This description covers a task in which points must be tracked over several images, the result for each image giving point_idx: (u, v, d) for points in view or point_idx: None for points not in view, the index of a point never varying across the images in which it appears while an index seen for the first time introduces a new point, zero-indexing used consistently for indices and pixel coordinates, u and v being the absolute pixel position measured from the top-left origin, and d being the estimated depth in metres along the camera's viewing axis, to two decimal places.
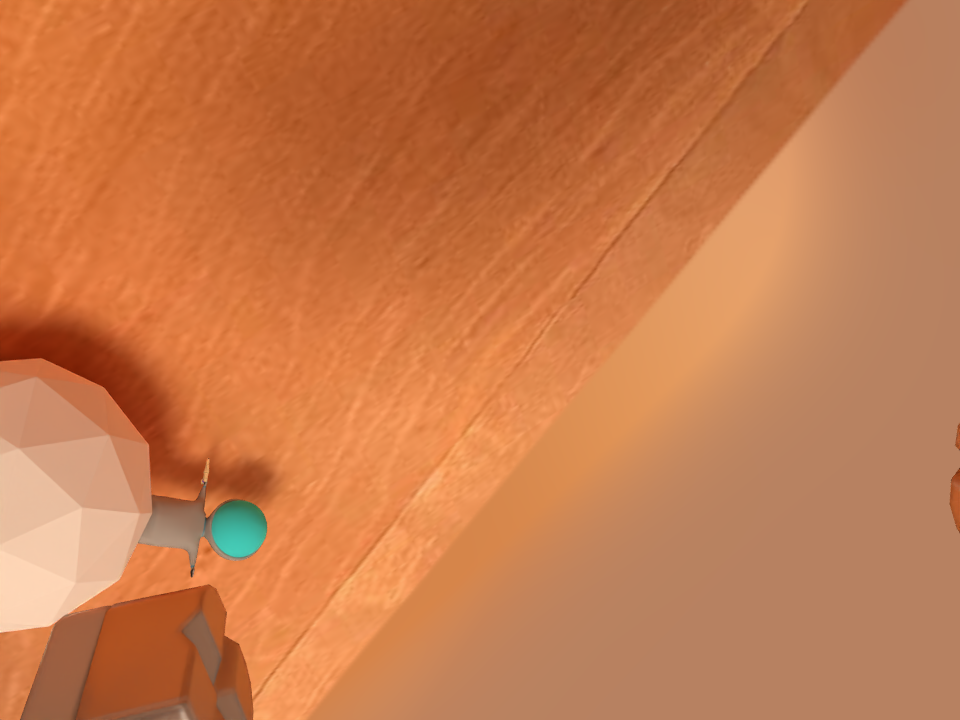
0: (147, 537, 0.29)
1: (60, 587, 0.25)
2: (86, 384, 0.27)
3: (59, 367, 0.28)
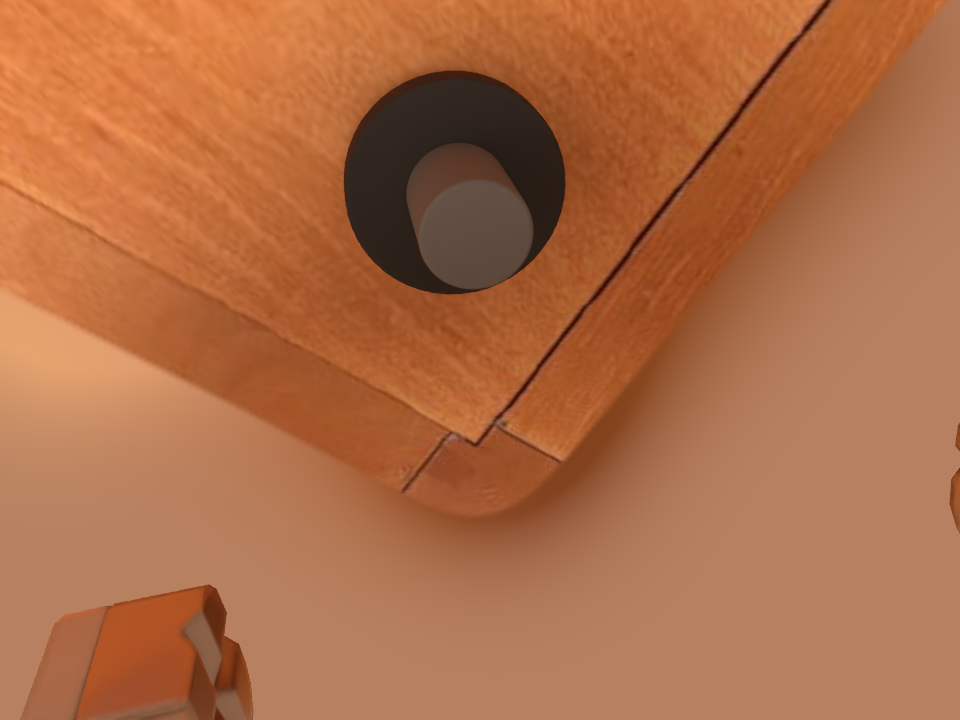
0: None
1: None
2: None
3: None
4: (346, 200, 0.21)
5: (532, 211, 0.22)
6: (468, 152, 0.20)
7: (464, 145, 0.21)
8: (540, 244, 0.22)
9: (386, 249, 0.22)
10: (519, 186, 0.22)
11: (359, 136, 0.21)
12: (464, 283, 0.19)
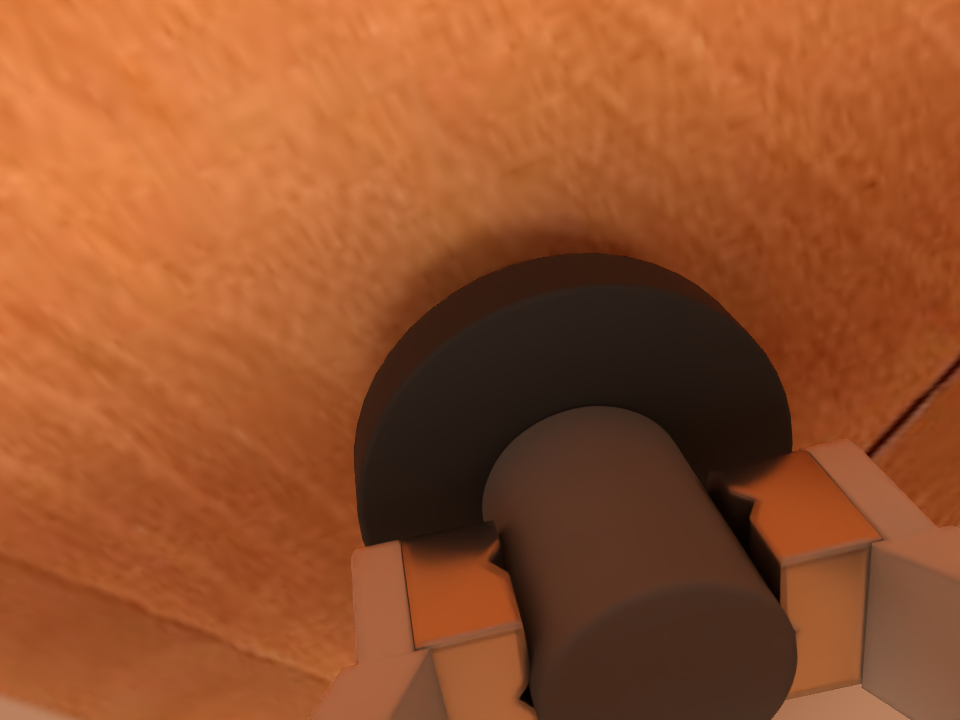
0: None
1: None
2: None
3: None
4: (360, 516, 0.10)
5: None
6: (625, 447, 0.09)
7: (607, 417, 0.10)
8: None
9: None
10: (704, 474, 0.11)
11: (388, 400, 0.10)
12: None
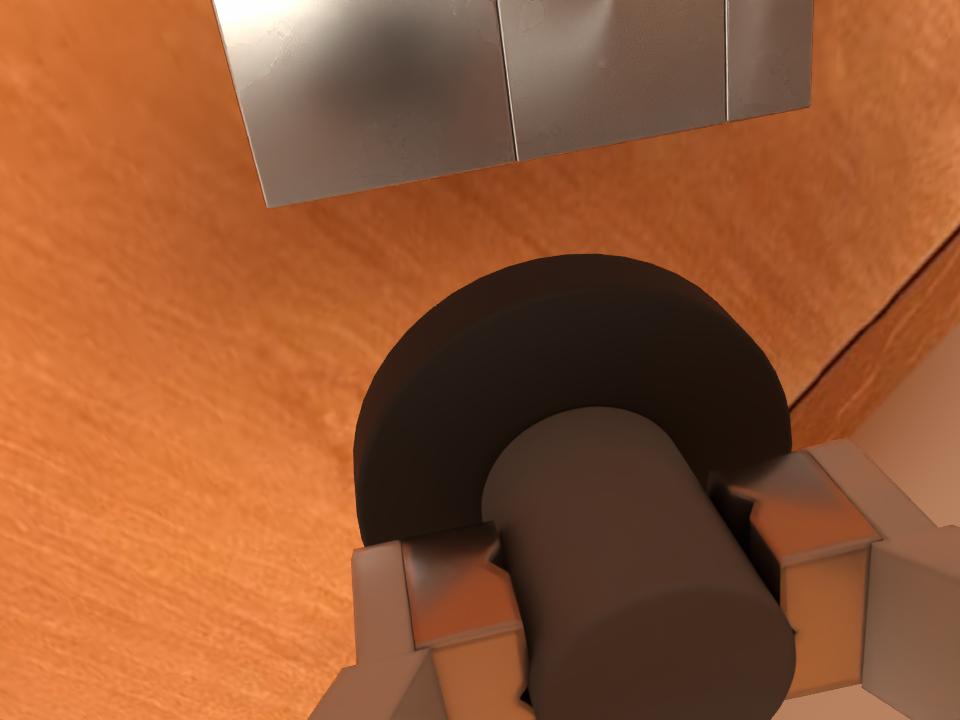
0: None
1: None
2: None
3: None
4: (359, 516, 0.10)
5: None
6: (624, 448, 0.09)
7: (607, 417, 0.10)
8: None
9: None
10: (703, 475, 0.11)
11: (387, 400, 0.10)
12: None
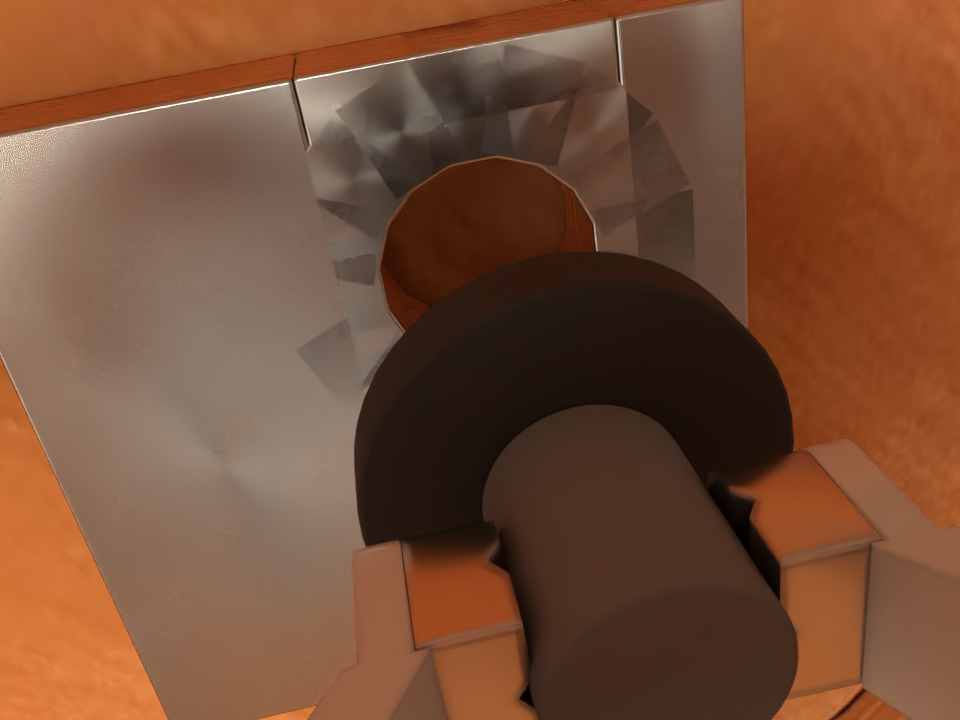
0: None
1: None
2: None
3: None
4: (360, 514, 0.10)
5: None
6: (625, 446, 0.09)
7: (608, 415, 0.10)
8: None
9: None
10: (705, 473, 0.11)
11: (388, 398, 0.10)
12: None
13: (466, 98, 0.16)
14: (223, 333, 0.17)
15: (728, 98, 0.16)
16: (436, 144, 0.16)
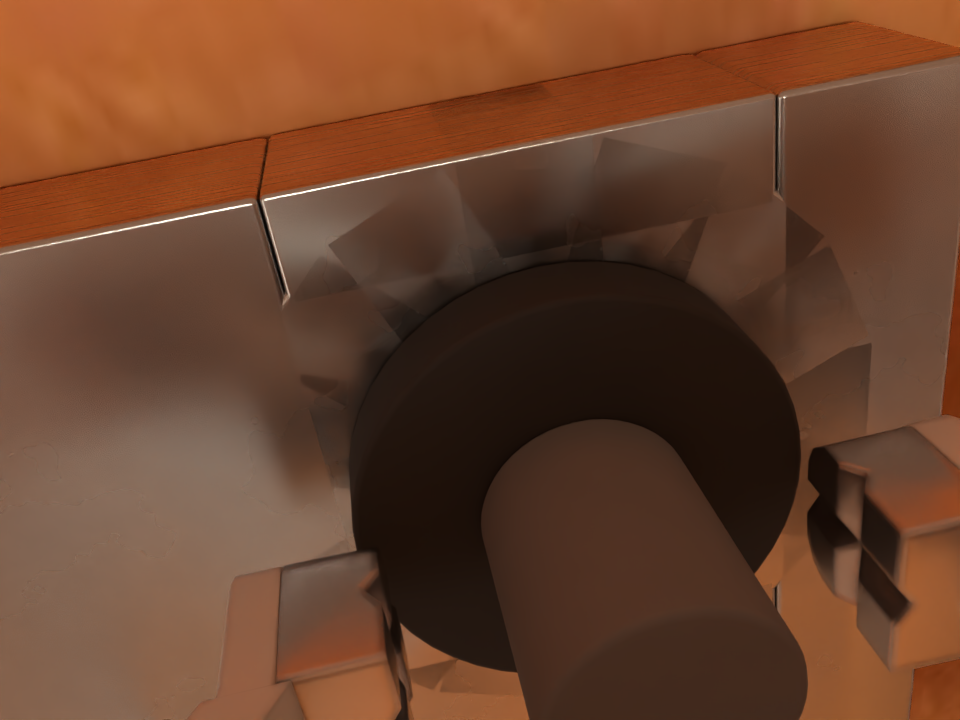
0: None
1: None
2: None
3: None
4: (355, 531, 0.10)
5: (729, 529, 0.11)
6: (628, 463, 0.09)
7: (611, 430, 0.10)
8: None
9: (435, 611, 0.11)
10: (710, 489, 0.10)
11: (384, 412, 0.09)
12: None
13: (538, 221, 0.10)
14: (157, 568, 0.11)
15: (940, 210, 0.10)
16: None
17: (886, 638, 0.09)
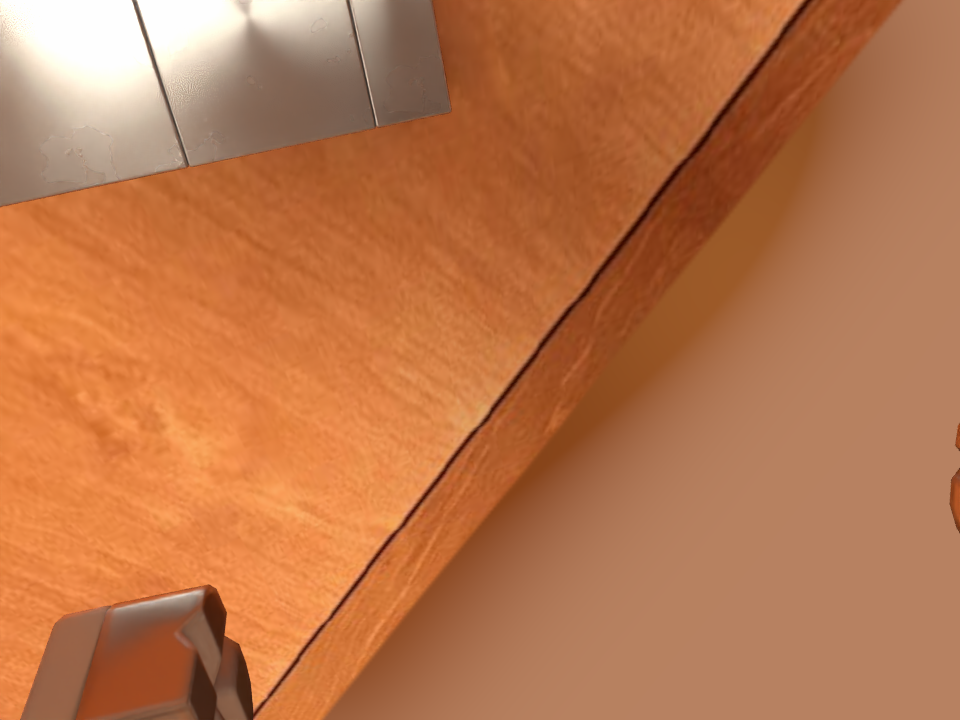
0: None
1: None
2: None
3: None
4: None
5: None
6: None
7: None
8: None
9: None
10: None
11: None
12: None
13: None
14: None
15: None
16: None
17: None
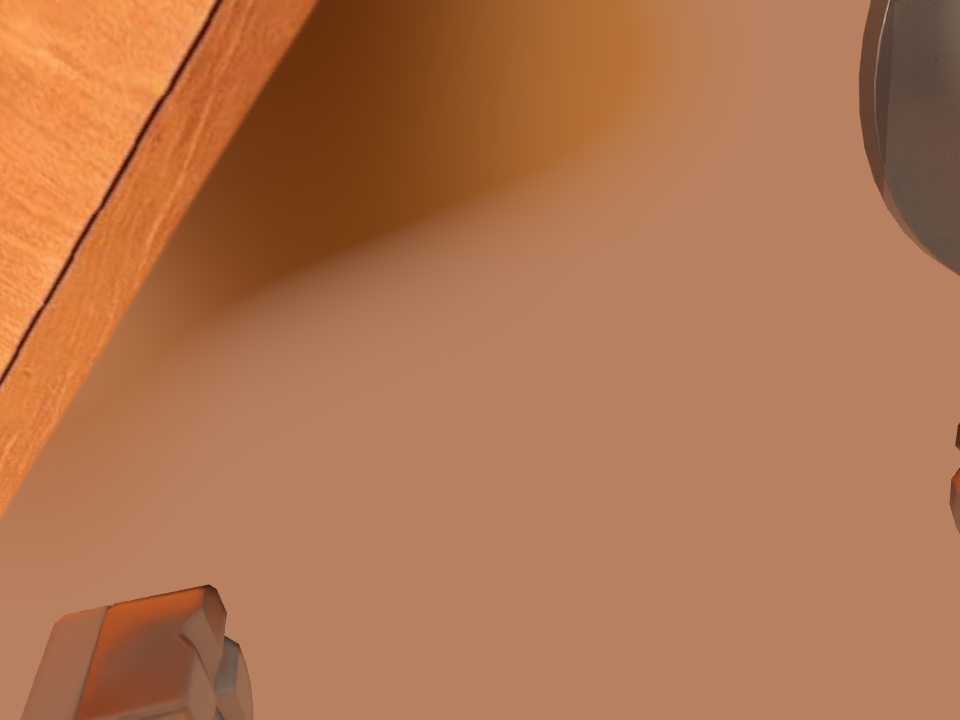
0: None
1: None
2: None
3: None
4: None
5: None
6: None
7: None
8: None
9: None
10: None
11: None
12: None
13: None
14: None
15: None
16: None
17: None
